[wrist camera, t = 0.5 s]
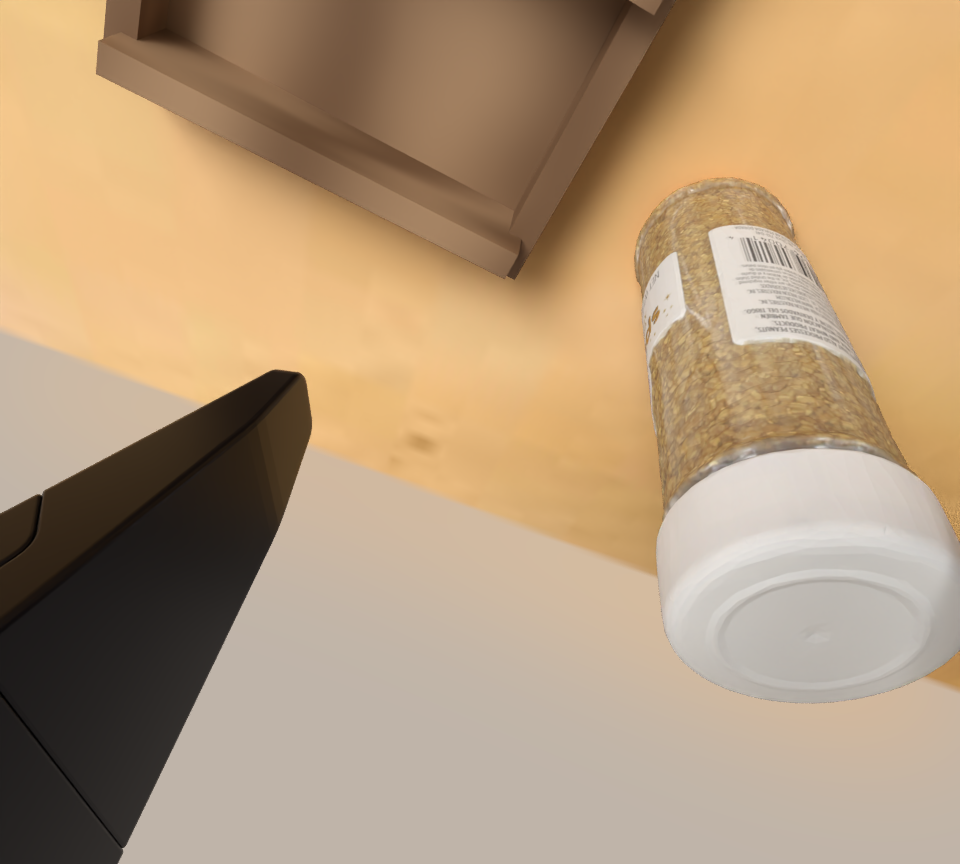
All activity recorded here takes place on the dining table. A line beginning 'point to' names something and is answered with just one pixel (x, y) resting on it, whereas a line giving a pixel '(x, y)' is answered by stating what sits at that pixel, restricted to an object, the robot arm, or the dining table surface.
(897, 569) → the sprinkles bottle
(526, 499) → the dining table surface
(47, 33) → the dining table surface
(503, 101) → the rack
